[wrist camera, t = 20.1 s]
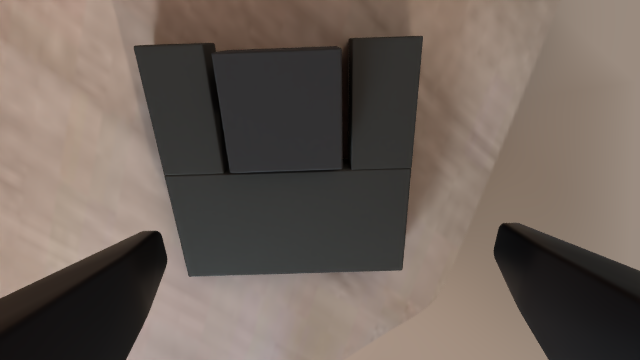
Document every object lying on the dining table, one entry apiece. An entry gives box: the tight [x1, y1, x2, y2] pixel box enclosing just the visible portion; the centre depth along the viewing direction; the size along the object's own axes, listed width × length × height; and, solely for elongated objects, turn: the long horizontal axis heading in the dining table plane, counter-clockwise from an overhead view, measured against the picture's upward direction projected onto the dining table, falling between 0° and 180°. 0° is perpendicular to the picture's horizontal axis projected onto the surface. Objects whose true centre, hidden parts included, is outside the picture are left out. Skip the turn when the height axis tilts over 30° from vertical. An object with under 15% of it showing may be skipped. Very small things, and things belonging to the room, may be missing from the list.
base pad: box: [134, 36, 423, 277], centre depth 19 cm, size 14×14×2 cm
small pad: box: [212, 46, 342, 173], centre depth 17 cm, size 6×6×3 cm
